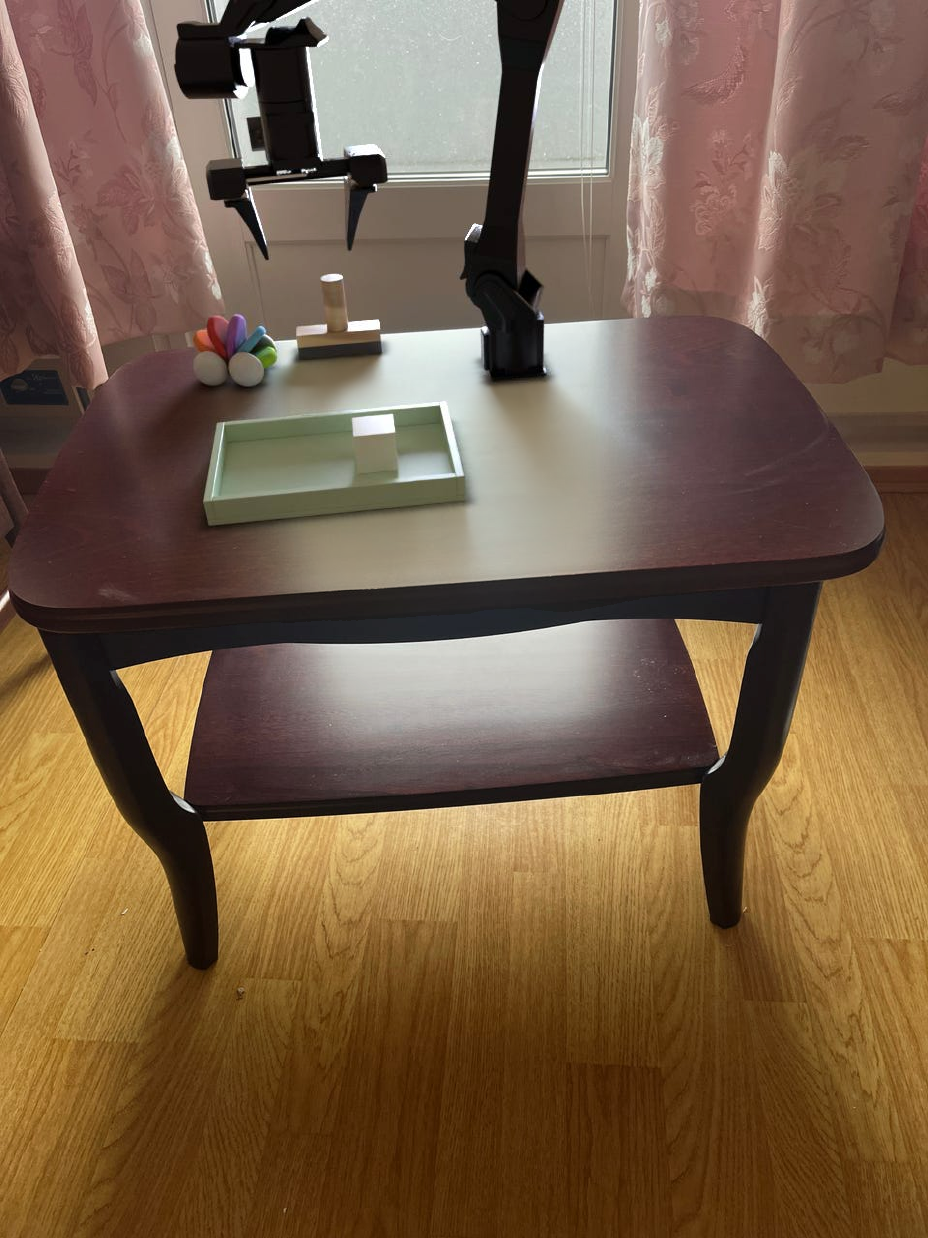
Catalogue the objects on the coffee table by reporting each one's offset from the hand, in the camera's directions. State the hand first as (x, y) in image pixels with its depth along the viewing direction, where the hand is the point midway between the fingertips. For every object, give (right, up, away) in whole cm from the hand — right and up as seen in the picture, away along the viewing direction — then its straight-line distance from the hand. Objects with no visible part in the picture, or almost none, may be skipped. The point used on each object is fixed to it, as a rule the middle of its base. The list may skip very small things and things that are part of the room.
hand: (308, 254), depth 106 cm
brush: (+2, -8, +10) cm, 13 cm away
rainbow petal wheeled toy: (-9, -12, +6) cm, 16 cm away
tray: (+5, -26, -13) cm, 30 cm away
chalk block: (+9, -25, -13) cm, 30 cm away
